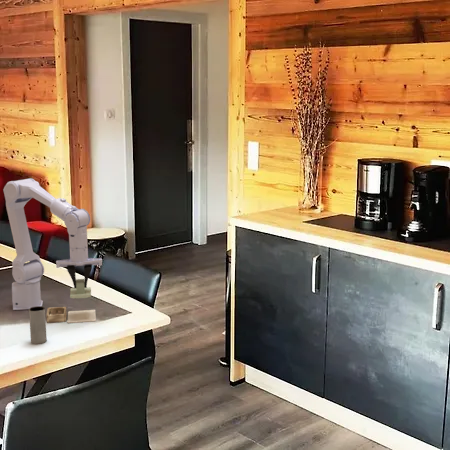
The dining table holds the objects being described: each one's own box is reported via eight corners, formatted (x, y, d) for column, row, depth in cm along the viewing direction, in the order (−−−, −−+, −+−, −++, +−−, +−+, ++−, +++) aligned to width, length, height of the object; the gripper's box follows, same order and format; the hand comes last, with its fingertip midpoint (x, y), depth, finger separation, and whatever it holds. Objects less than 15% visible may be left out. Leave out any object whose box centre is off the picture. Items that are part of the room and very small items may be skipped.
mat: (67, 323, 216) (67, 322, 216) (68, 312, 227) (68, 311, 227) (95, 321, 218) (95, 320, 218) (95, 310, 229) (95, 309, 228)
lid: (70, 300, 216) (69, 285, 215) (70, 292, 224) (70, 278, 224) (91, 298, 218) (90, 284, 217) (90, 291, 226) (90, 277, 225)
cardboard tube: (32, 338, 203) (30, 306, 201) (47, 338, 203) (46, 305, 201) (29, 344, 198) (27, 311, 196) (45, 344, 199) (43, 310, 197)
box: (46, 323, 216) (46, 315, 216) (48, 315, 224) (47, 307, 224) (66, 321, 218) (65, 314, 217) (66, 313, 225) (66, 306, 225)
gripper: (55, 250, 212) (57, 292, 215) (101, 248, 215) (103, 289, 218) (55, 245, 219) (58, 285, 222) (101, 243, 222) (102, 283, 225)
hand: (80, 287), depth 220 cm, fingers closed on lid, 3 cm apart
